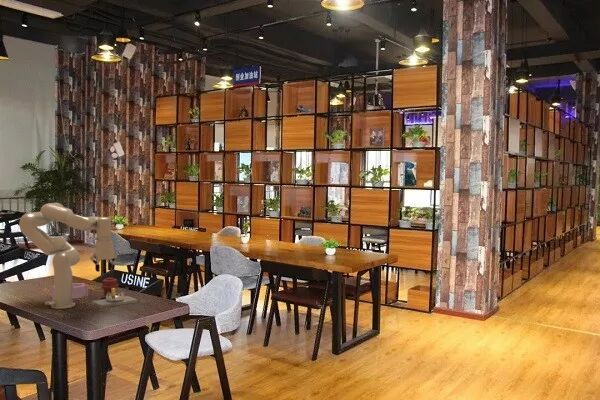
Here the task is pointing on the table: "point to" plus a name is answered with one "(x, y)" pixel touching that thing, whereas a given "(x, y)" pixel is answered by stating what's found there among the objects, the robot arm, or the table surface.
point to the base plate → (104, 303)
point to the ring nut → (114, 296)
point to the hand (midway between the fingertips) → (103, 270)
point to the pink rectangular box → (77, 290)
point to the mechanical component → (109, 285)
